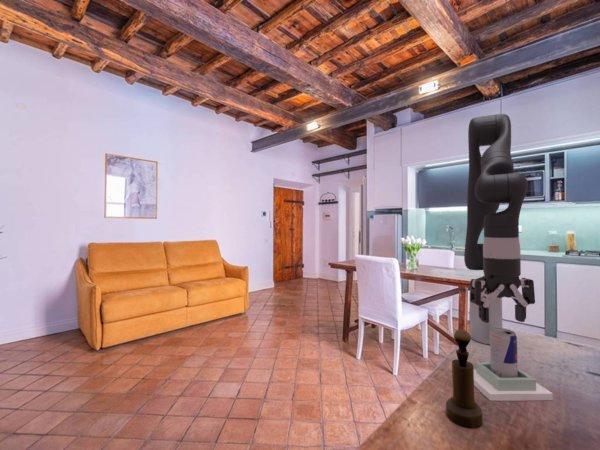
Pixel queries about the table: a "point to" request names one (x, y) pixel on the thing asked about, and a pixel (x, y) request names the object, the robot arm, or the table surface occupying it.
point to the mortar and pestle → (463, 387)
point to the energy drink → (503, 353)
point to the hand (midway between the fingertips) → (502, 321)
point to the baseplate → (508, 385)
